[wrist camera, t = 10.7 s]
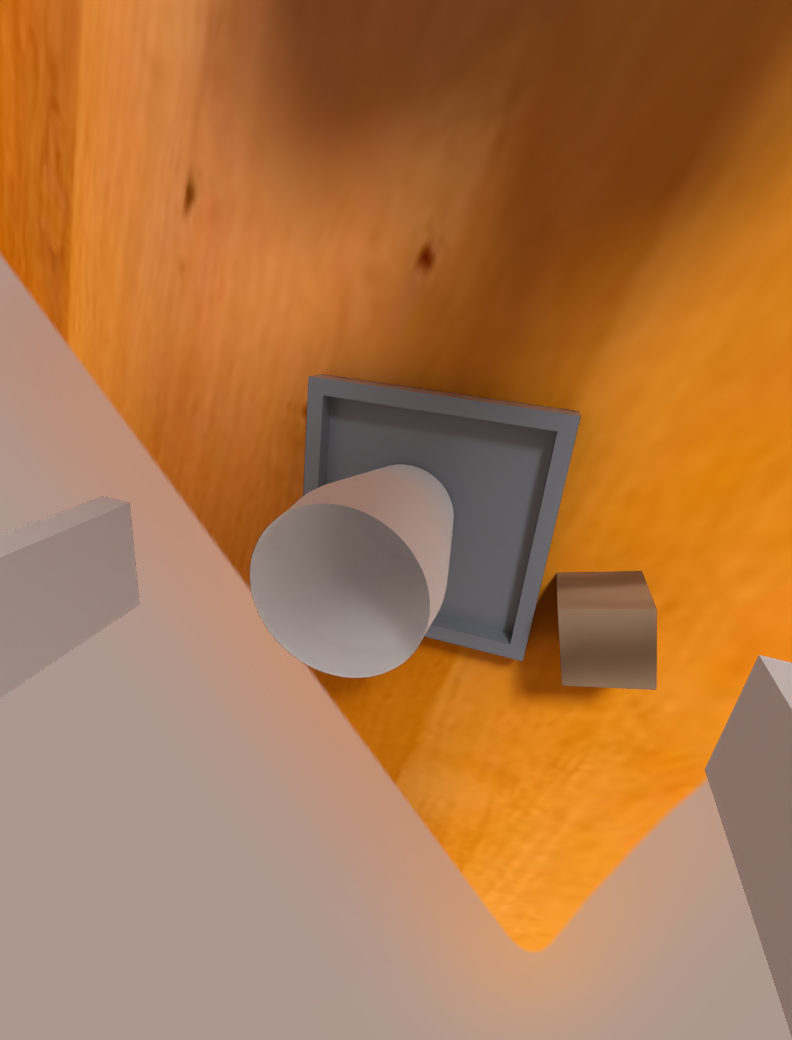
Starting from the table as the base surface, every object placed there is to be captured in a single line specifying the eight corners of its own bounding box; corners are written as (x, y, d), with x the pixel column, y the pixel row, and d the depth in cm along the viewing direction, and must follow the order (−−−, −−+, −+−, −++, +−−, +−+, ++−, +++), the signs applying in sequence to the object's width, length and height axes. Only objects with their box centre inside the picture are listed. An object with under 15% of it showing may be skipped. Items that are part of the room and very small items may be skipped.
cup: (374, 590, 37) (299, 697, 26) (318, 474, 35) (213, 536, 24) (494, 553, 33) (466, 658, 22) (439, 423, 31) (381, 468, 21)
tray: (321, 374, 33) (308, 376, 31) (578, 411, 30) (580, 416, 28) (310, 592, 39) (298, 604, 37) (524, 644, 35) (522, 661, 34)
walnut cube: (556, 572, 33) (557, 609, 29) (641, 570, 32) (656, 609, 27) (560, 640, 35) (562, 685, 30) (642, 641, 33) (656, 689, 29)
